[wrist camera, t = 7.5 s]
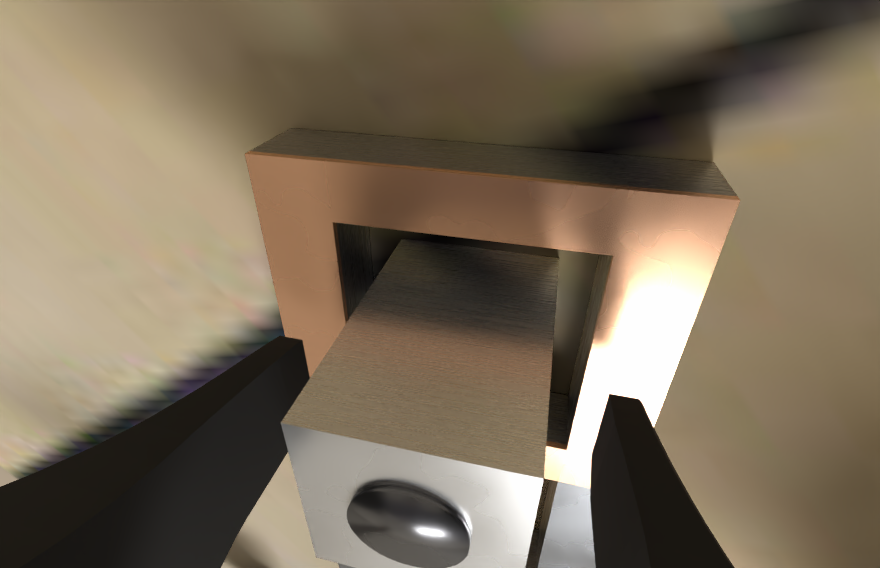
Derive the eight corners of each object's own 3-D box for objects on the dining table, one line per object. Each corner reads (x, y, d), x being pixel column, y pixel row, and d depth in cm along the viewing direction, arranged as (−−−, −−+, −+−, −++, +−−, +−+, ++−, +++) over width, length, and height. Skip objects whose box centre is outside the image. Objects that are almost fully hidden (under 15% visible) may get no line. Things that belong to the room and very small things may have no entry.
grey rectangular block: (559, 257, 13) (542, 487, 7) (538, 376, 16) (515, 619, 10) (402, 238, 14) (276, 429, 8) (407, 353, 16) (313, 563, 11)
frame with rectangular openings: (713, 162, 11) (740, 200, 9) (554, 638, 25) (553, 690, 23) (291, 128, 13) (244, 154, 11) (365, 586, 27) (350, 630, 25)
